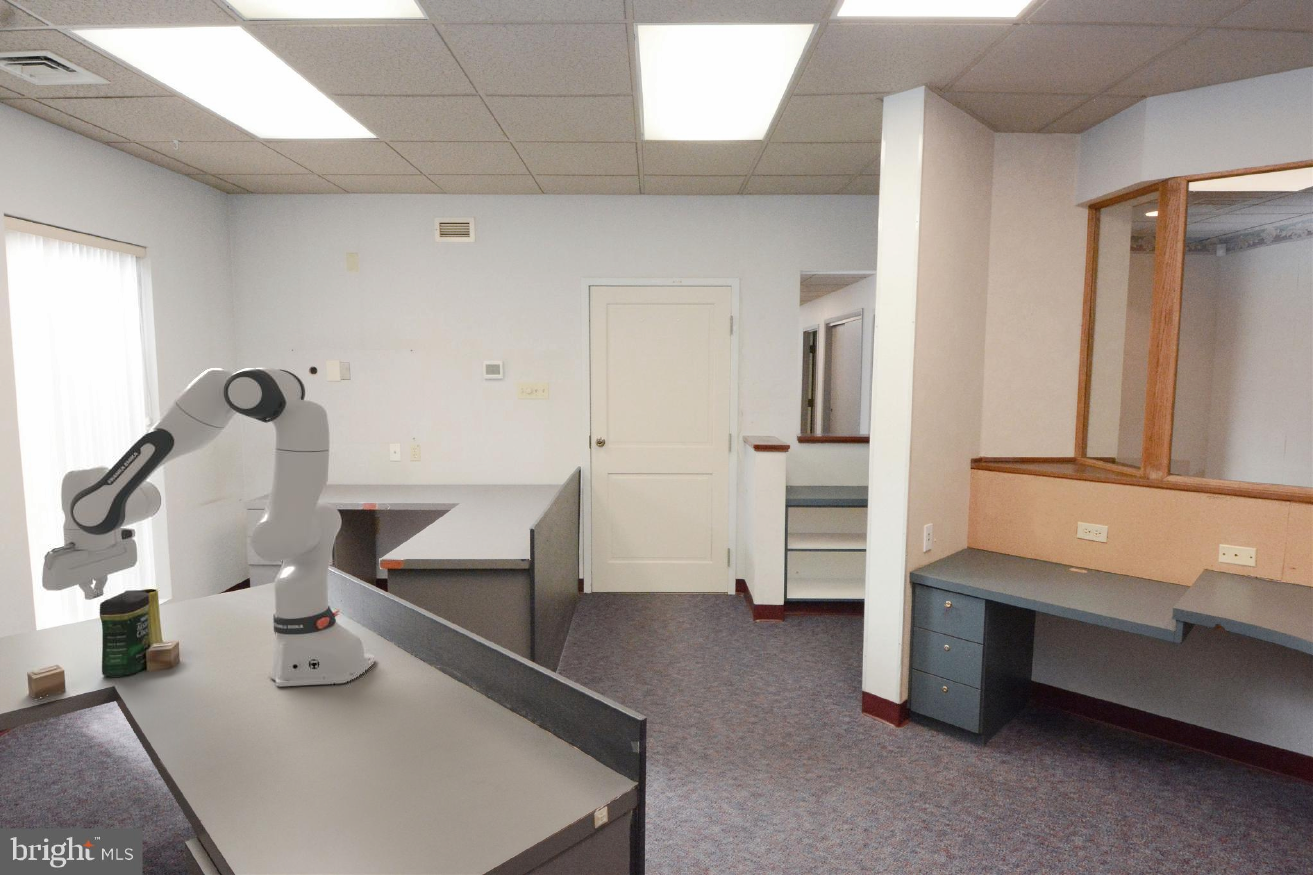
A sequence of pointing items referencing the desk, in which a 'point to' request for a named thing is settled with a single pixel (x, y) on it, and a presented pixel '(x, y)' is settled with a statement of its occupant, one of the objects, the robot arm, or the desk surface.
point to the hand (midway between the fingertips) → (94, 597)
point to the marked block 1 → (46, 681)
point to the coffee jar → (125, 633)
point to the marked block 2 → (162, 656)
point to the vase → (154, 617)
